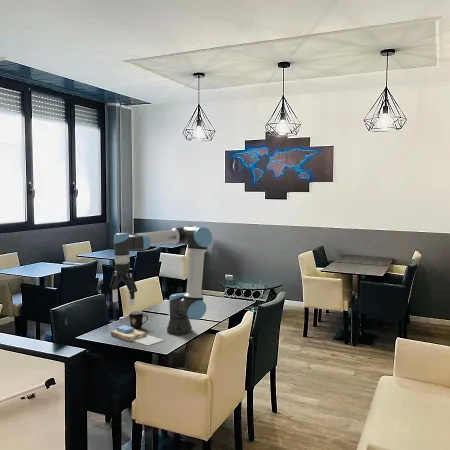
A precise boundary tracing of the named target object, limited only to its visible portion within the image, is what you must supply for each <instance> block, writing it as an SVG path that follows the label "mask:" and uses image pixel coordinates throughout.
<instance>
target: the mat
mask: <svg viewBox="0 0 450 450" xmlns="http://www.w3.org/2000/svg"><path fill="white" fill-rule="evenodd" d="M164 341H165V339H163V338H159V337H155V336H152V335H149V334H148V335H146V336H145V337H141V338H138V339H134V340H132V341H131V342H134V343H138V344H140V345H144V346H147V347H149V346H152V345H156V344H160V343H162V342H164Z"/></svg>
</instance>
